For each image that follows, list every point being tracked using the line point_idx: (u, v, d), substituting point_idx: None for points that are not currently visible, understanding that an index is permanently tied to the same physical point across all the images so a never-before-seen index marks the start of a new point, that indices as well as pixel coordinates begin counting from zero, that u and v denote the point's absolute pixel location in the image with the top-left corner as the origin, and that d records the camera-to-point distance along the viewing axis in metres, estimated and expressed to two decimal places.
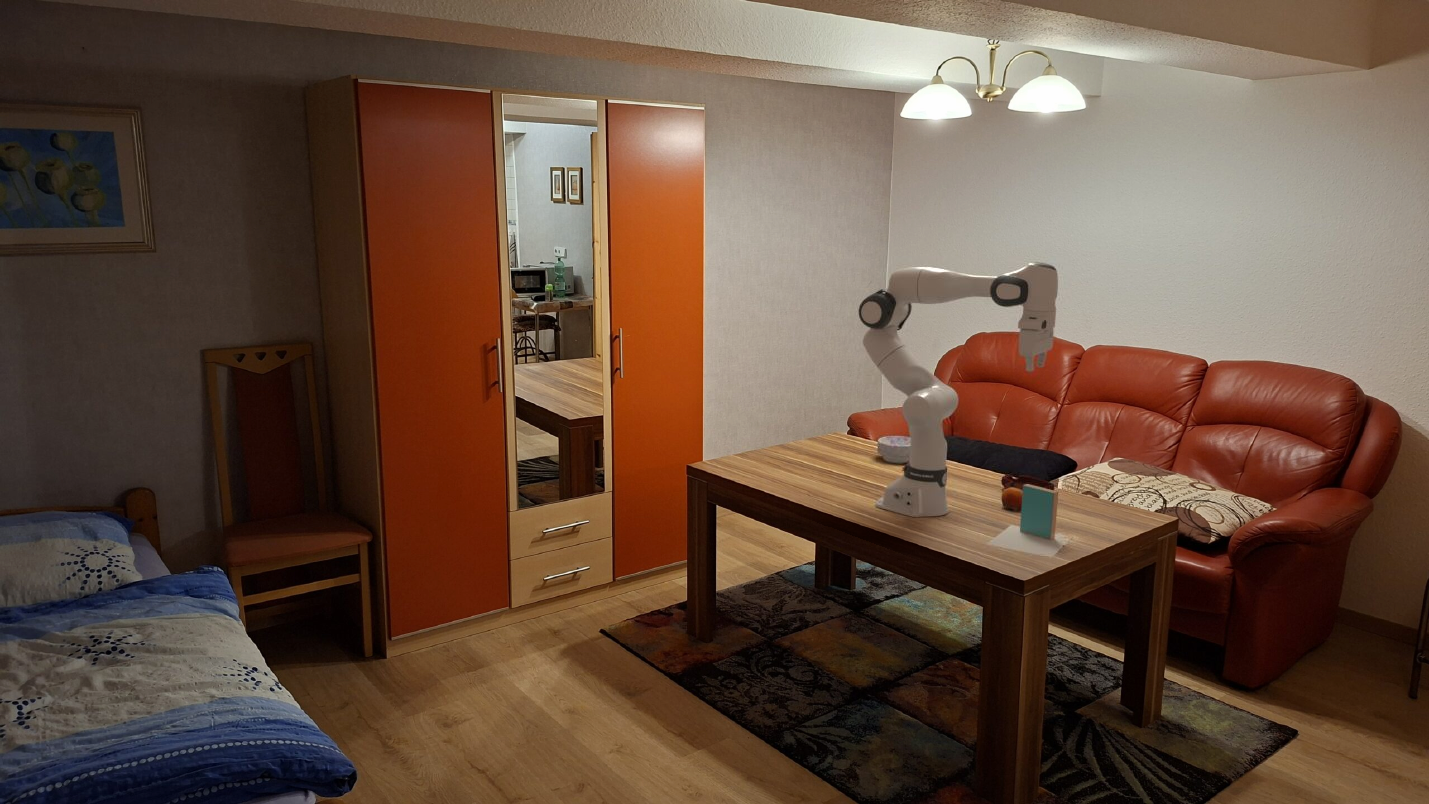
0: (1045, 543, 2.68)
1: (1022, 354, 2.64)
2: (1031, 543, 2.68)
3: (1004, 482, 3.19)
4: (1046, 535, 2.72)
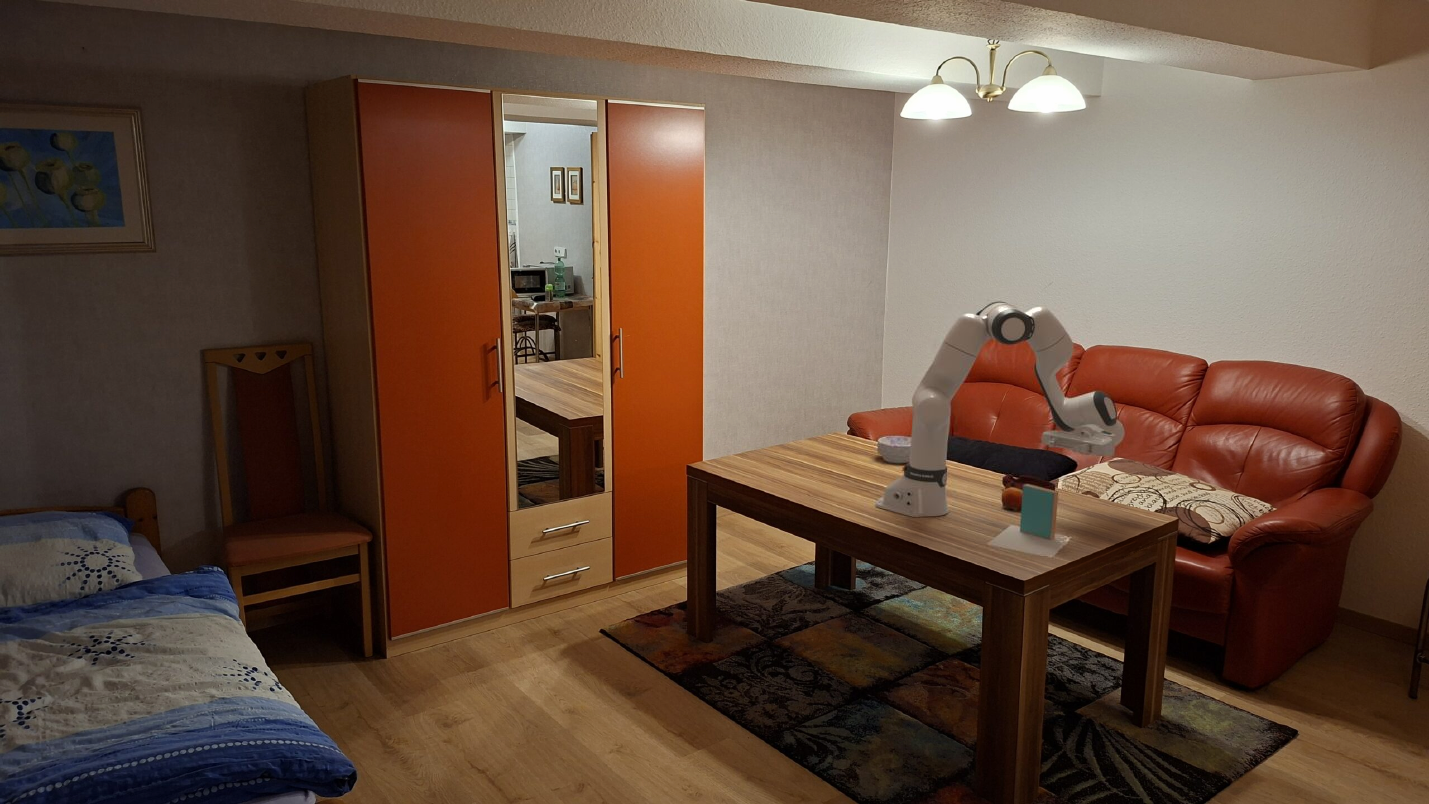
0: (1045, 543, 2.68)
1: (1103, 447, 2.73)
2: (1031, 543, 2.68)
3: (1005, 482, 3.19)
4: (1046, 535, 2.72)
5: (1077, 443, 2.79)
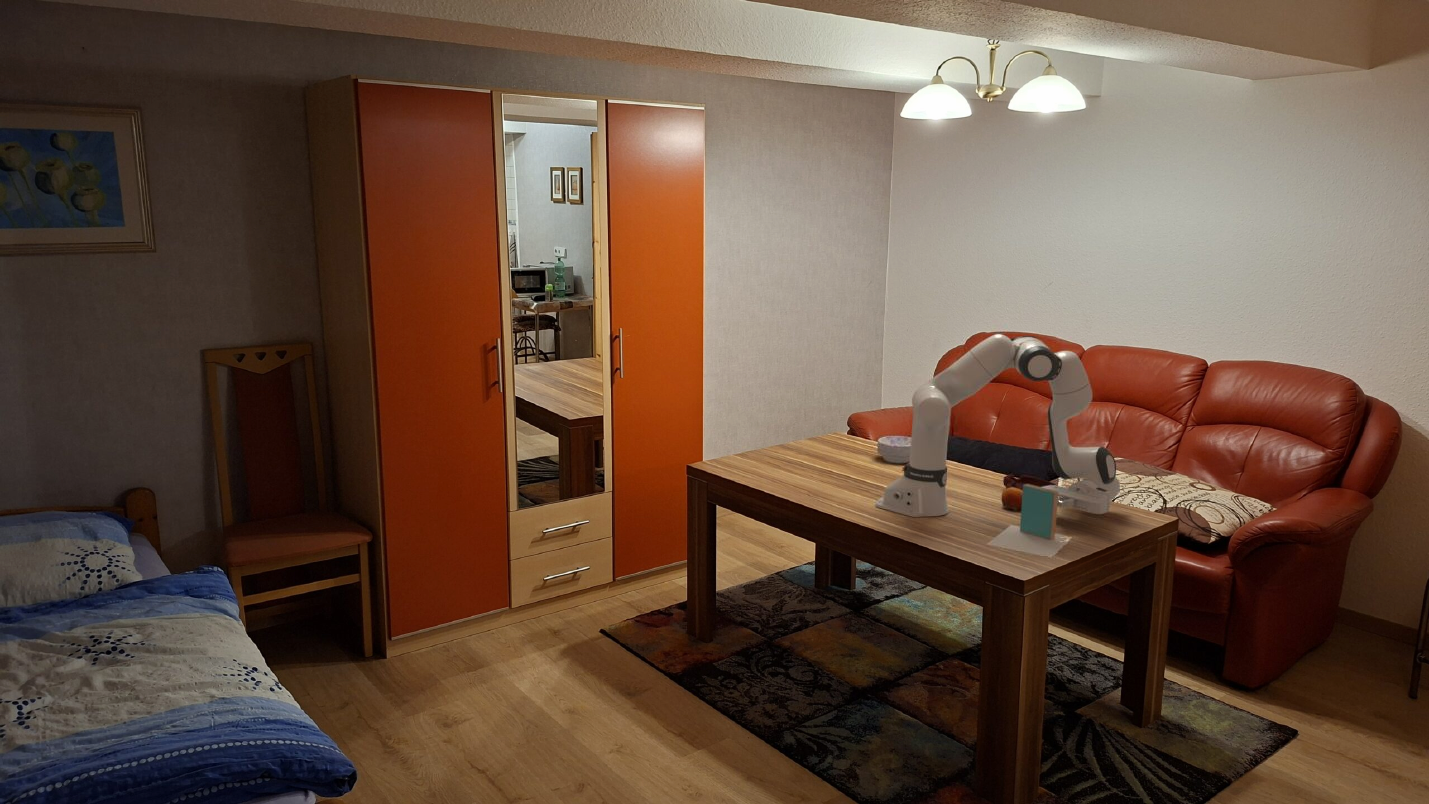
0: (1045, 543, 2.68)
1: (1099, 505, 2.76)
2: (1031, 543, 2.68)
3: (1006, 482, 3.19)
4: (1046, 535, 2.72)
5: None
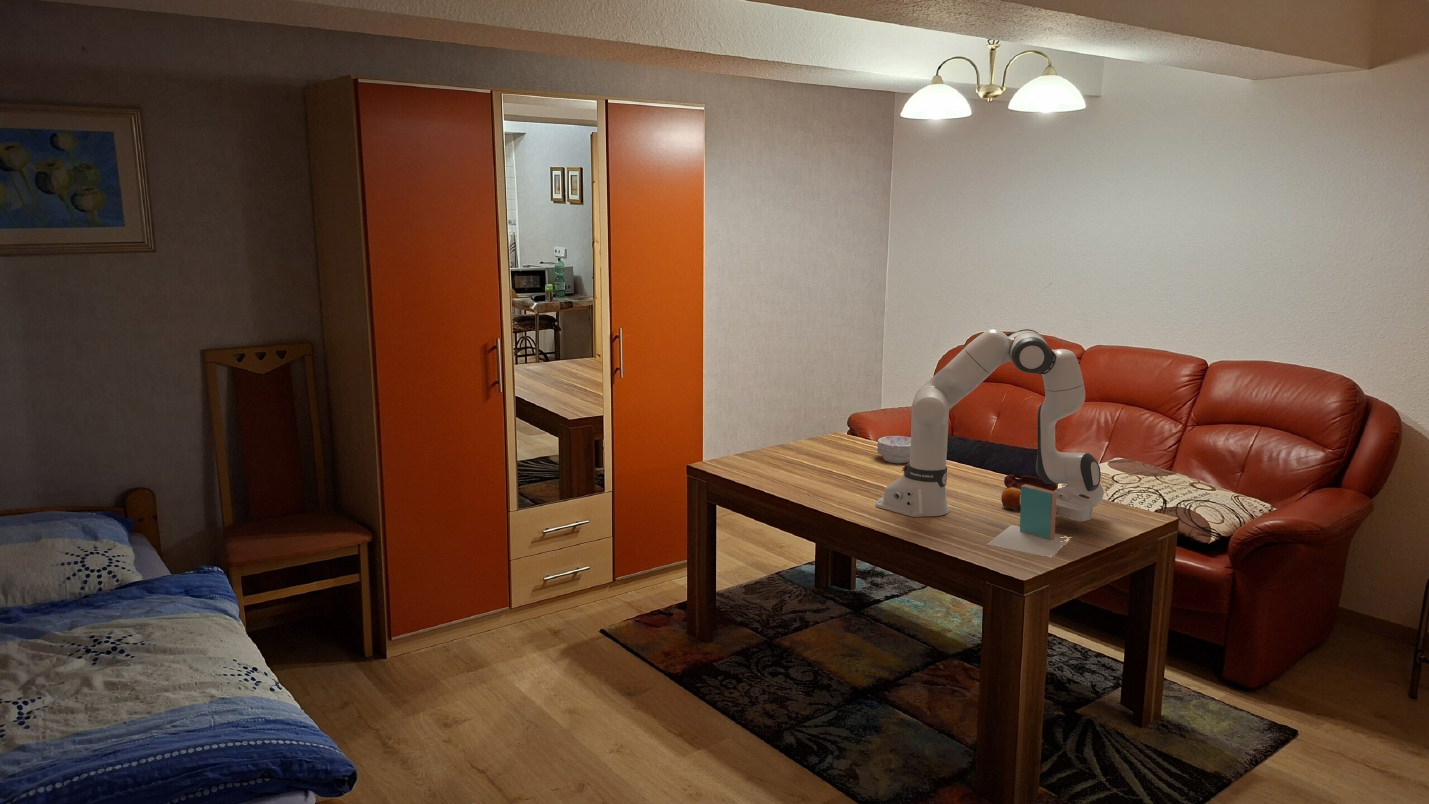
0: (1045, 543, 2.68)
1: (1081, 513, 2.70)
2: (1031, 543, 2.68)
3: (1007, 482, 3.19)
4: (1046, 535, 2.72)
5: None
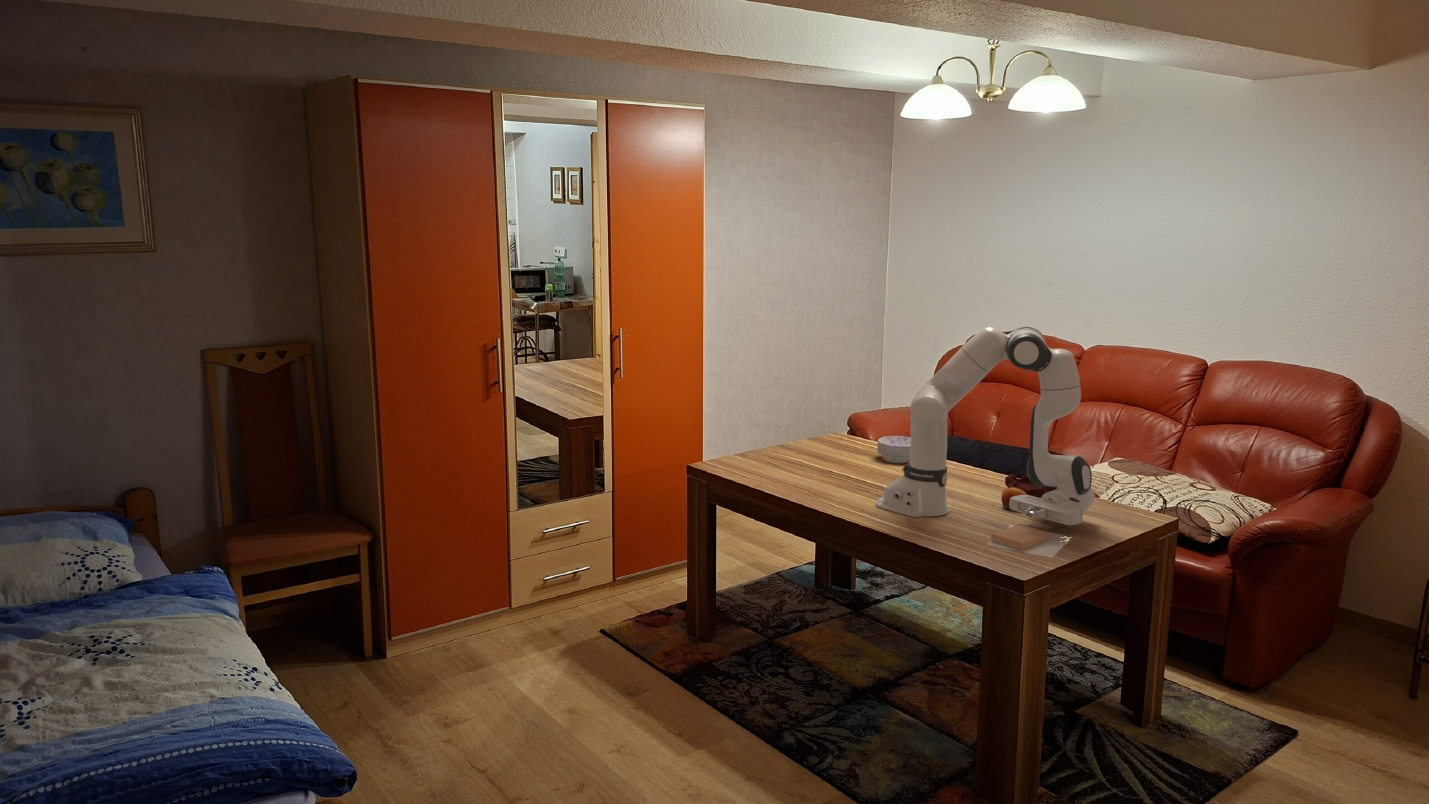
0: (1045, 543, 2.68)
1: (1070, 516, 2.67)
2: None
3: (1008, 482, 3.19)
4: None
5: None
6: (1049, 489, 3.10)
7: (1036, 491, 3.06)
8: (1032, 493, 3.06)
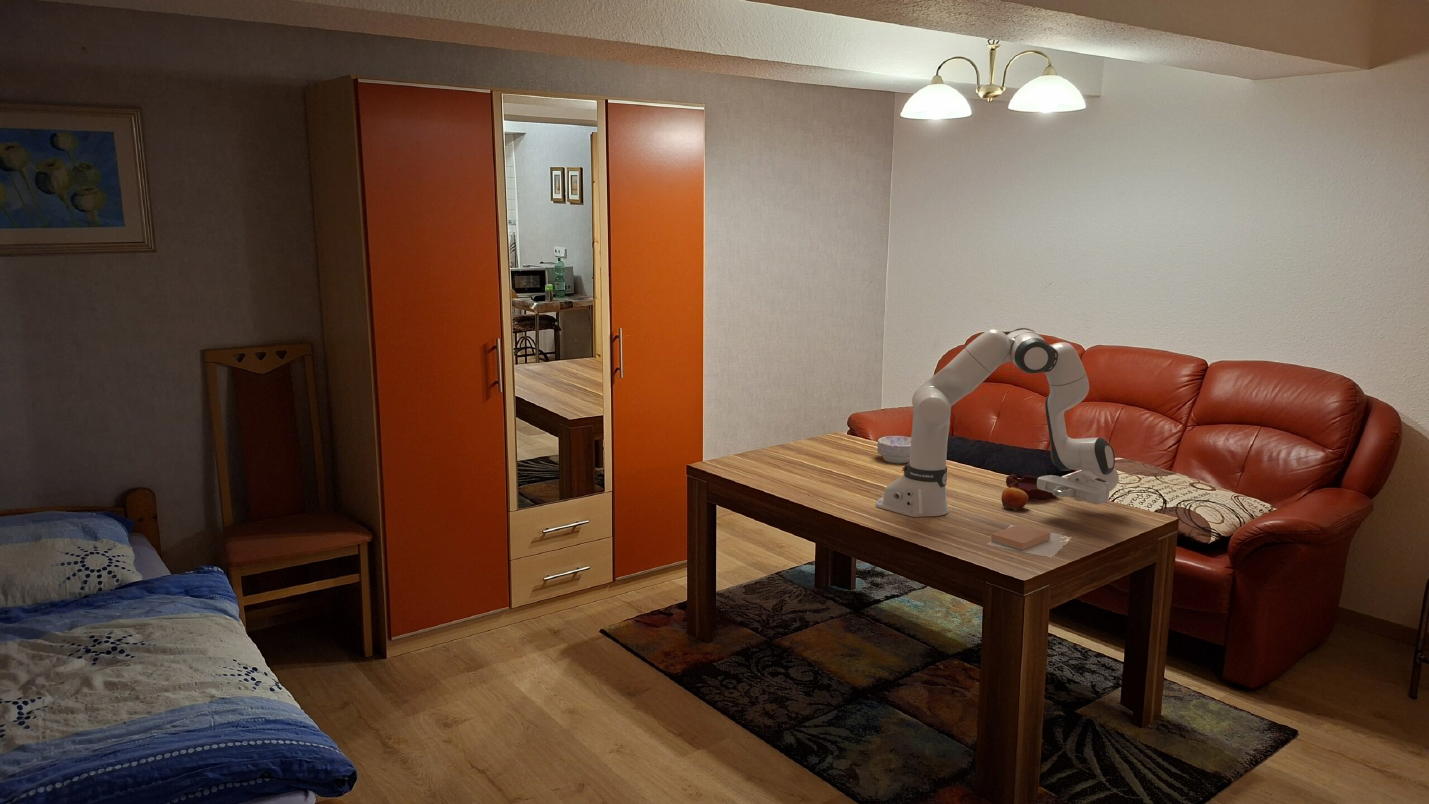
0: (1045, 543, 2.68)
1: (1098, 495, 2.76)
2: None
3: (1008, 482, 3.19)
4: None
5: None
6: None
7: (1037, 491, 3.06)
8: (1033, 493, 3.06)
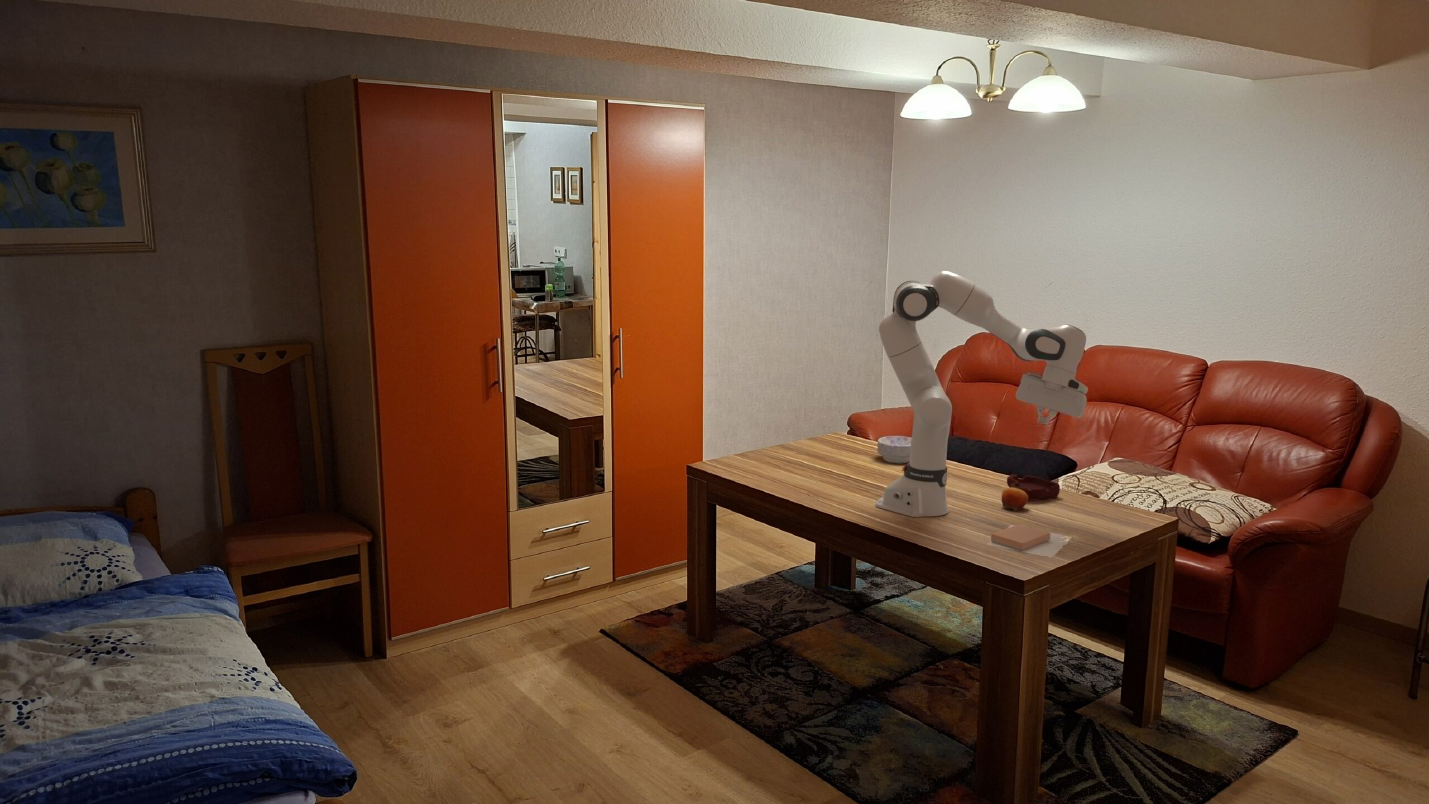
0: (1045, 543, 2.68)
1: (1079, 416, 2.79)
2: None
3: (1009, 482, 3.19)
4: None
5: None
6: (1051, 489, 3.09)
7: (1037, 491, 3.06)
8: (1034, 493, 3.06)
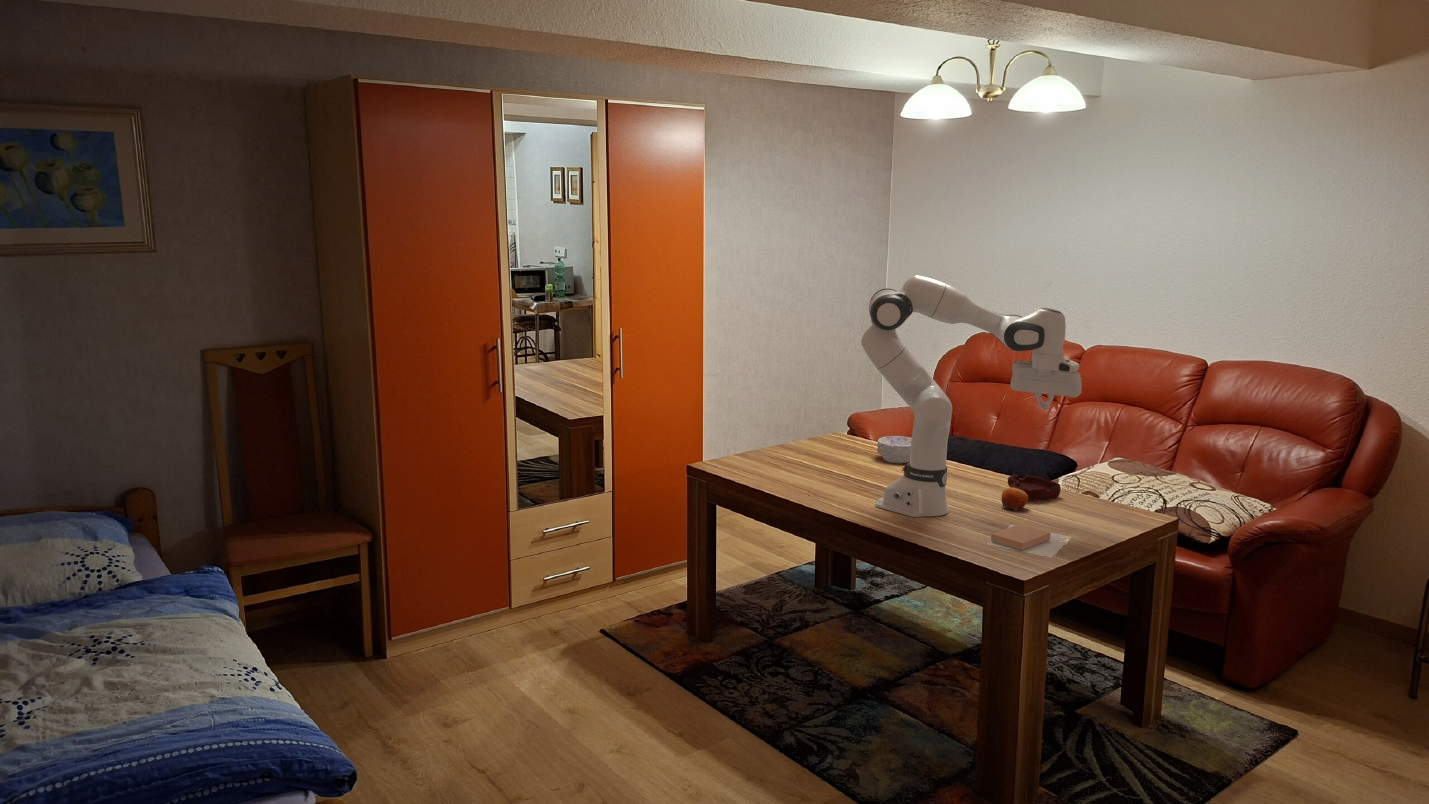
0: (1045, 543, 2.68)
1: (1077, 395, 2.80)
2: None
3: (1010, 482, 3.19)
4: None
5: None
6: (1052, 489, 3.09)
7: (1038, 491, 3.06)
8: (1034, 493, 3.06)
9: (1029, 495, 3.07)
